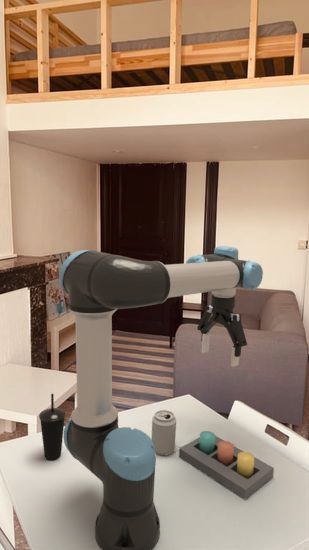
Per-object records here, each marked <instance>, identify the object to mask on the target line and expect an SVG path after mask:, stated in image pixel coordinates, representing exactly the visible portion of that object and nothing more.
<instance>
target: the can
mask: <svg viewBox="0 0 309 550" xmlns="http://www.w3.org/2000/svg"><path fill="white" fill-rule="evenodd" d="M176 430H177V418H176V416H175V414H174V412H172V411H171V410H167V409H161V410H157V411H156V412H154V414H153V417H152V422H151V440H152V442H153V444H154V447H155V452H156V453H155V454H157V455H159V454H160V455H161V456H167V455H166V454H168V455H170V454H171V453H173V452H174V451H175V449H176V434H177V433H176V432H177V431H176ZM169 453H170V454H169Z"/></svg>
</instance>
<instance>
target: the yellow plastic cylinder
mask: <svg viewBox="0 0 309 550" xmlns="http://www.w3.org/2000/svg"><path fill="white" fill-rule="evenodd" d="M254 457H255V456H254V454H252V453H251V452H249V451H244V452H240V453H238V459H237V473H238V474H240V475H241V476H243V477H245V478H250V477H252V476H253V470H254Z"/></svg>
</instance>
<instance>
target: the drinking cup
mask: <svg viewBox="0 0 309 550" xmlns="http://www.w3.org/2000/svg"><path fill="white" fill-rule="evenodd" d="M54 394H55V393H51V394H50V397H51V398H50V403H51V404H50V407H49V408H46V409H44V410H42V411H41V412H40V413H39V415H38V418H39V420H40V429H41V435H42V436H41V437H42V445H43V454H44V455H43V456H44V459H45V460H46V461H50V462H51V461H54V462H55V461H56V460H59V459H60V458H61V456H62V450H63V449H62V448H63V447H62V446H63V440H64V428H65V426H64V425H65V418H66V415H67V414H66V410H64V408H61V407H60V408H59V407H55V405H54V404H55V403H54V398H55V397H54Z"/></svg>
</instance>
